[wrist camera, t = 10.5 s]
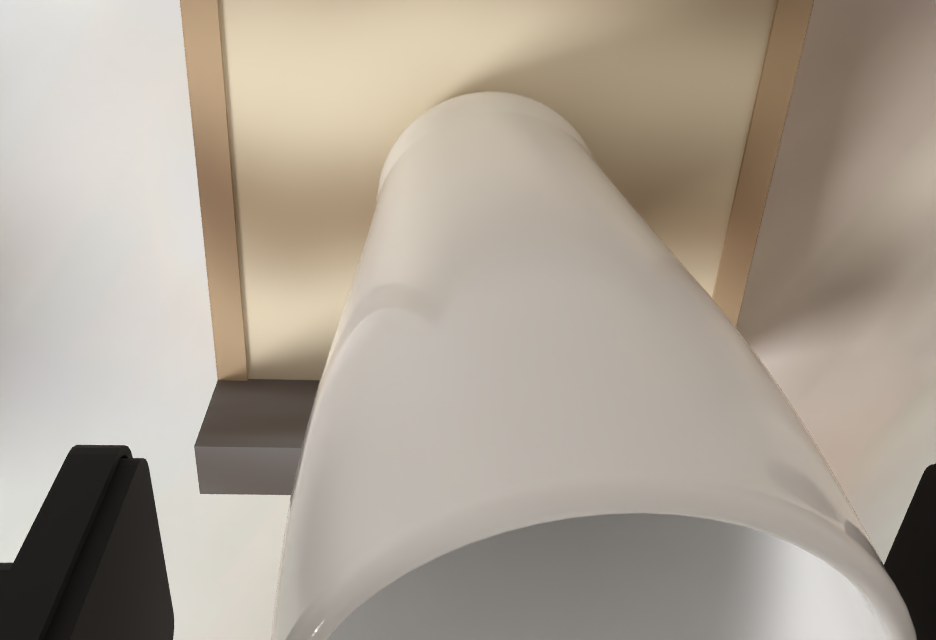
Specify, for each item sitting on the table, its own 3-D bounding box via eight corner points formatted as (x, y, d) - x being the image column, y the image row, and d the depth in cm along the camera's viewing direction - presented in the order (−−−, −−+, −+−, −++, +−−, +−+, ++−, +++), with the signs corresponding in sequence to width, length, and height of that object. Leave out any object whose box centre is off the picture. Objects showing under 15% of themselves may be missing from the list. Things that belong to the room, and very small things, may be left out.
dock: (199, -142, 21) (125, -126, 15) (785, -107, 22) (900, -81, 16) (241, 365, 28) (199, 494, 22) (683, 374, 29) (742, 500, 23)
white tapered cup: (616, 304, 24) (864, 904, 11) (361, 318, 23) (297, 948, 10) (630, 44, 20) (1020, 459, 7) (333, 58, 20) (188, 510, 7)
